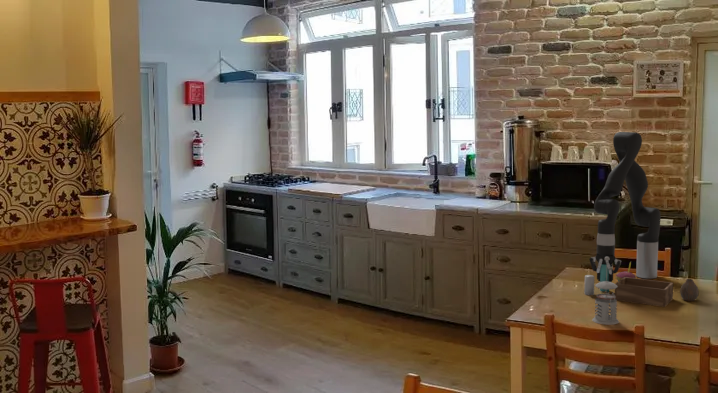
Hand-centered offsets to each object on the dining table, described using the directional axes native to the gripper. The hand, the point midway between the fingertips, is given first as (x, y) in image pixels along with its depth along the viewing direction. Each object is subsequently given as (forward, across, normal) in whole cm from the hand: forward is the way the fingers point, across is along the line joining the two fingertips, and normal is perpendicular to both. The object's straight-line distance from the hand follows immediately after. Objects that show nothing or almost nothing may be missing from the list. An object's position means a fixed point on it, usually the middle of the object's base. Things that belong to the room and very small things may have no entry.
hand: (604, 281), depth 316 cm
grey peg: (+4, +4, +9) cm, 11 cm away
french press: (+5, -14, +45) cm, 47 cm away
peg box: (+4, -18, +6) cm, 19 cm away
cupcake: (+4, -6, -11) cm, 13 cm away
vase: (+5, -34, -3) cm, 34 cm away
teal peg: (+4, 0, 0) cm, 4 cm away
